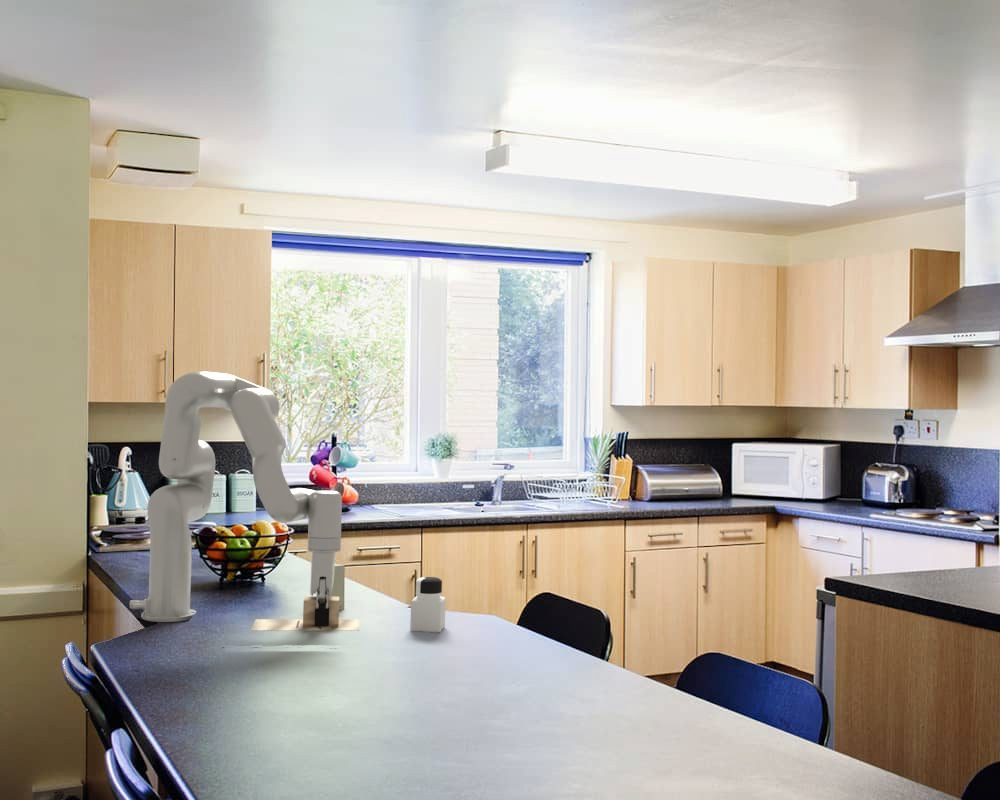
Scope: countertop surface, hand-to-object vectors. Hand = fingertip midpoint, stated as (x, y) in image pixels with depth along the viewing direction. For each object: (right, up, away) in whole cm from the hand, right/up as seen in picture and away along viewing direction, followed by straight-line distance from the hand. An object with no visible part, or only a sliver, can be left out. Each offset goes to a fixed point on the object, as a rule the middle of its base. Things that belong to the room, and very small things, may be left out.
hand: (322, 622), depth 242 cm
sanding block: (0, 0, 0) cm, 1 cm away
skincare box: (-1, -2, +20) cm, 20 cm away
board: (-4, -2, 0) cm, 4 cm away
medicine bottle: (+24, -3, +4) cm, 25 cm away
